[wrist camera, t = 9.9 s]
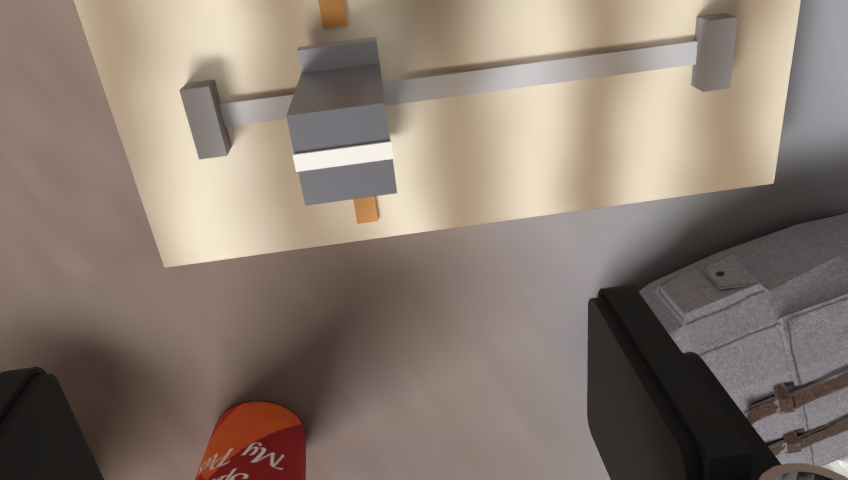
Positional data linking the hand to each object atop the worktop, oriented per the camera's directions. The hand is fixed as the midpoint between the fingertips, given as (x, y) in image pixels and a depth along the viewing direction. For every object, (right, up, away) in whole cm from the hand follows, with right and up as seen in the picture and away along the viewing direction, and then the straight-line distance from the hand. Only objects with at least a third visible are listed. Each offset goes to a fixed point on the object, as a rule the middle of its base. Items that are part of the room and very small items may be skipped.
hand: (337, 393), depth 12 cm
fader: (-2, +9, +16) cm, 19 cm away
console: (+3, +11, +20) cm, 23 cm away
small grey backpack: (+21, -2, +29) cm, 36 cm away
